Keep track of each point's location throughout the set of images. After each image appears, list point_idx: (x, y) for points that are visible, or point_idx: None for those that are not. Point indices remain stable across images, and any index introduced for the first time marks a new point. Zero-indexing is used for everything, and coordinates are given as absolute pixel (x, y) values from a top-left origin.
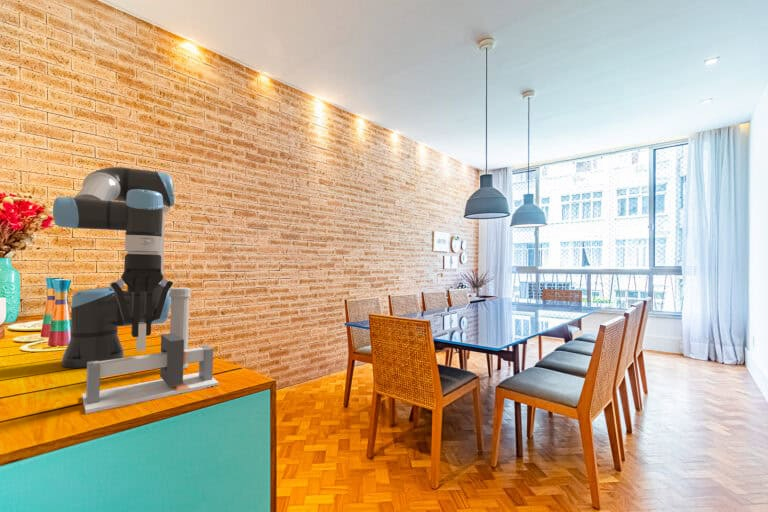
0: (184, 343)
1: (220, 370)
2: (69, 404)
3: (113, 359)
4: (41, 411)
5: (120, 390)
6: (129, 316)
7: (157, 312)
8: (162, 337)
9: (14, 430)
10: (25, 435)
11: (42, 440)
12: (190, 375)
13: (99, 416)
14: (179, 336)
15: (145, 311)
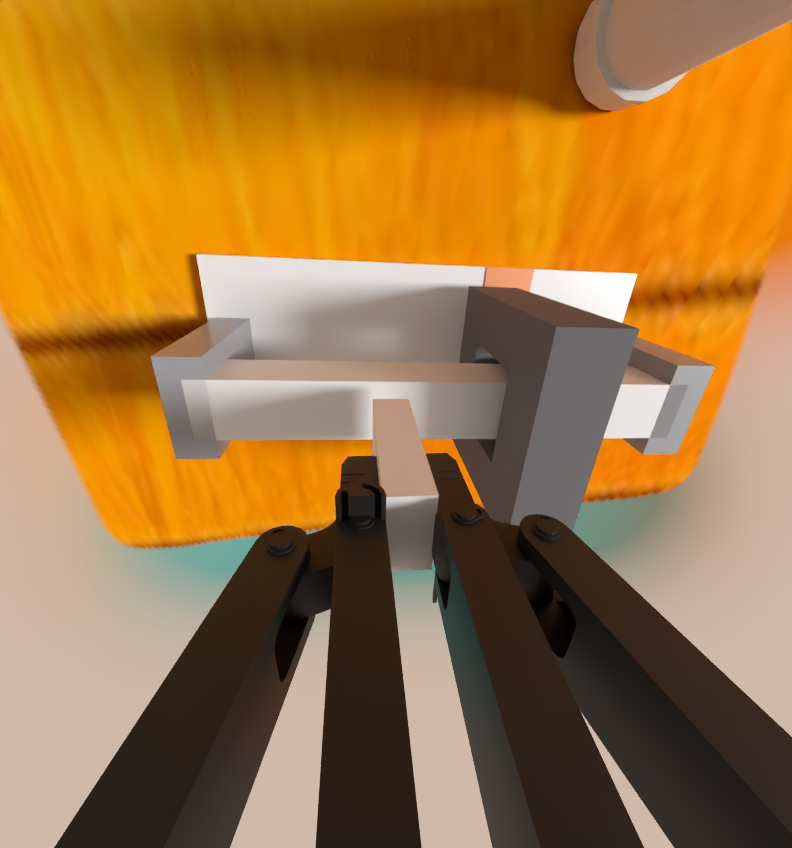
0: (757, 37)
1: (697, 263)
2: (172, 312)
3: (271, 382)
4: (98, 327)
5: (323, 313)
6: (305, 642)
7: (546, 638)
8: (540, 364)
9: (79, 442)
10: (119, 487)
11: (165, 531)
12: (571, 295)
13: (265, 471)
14: (783, 7)
15: (455, 639)
